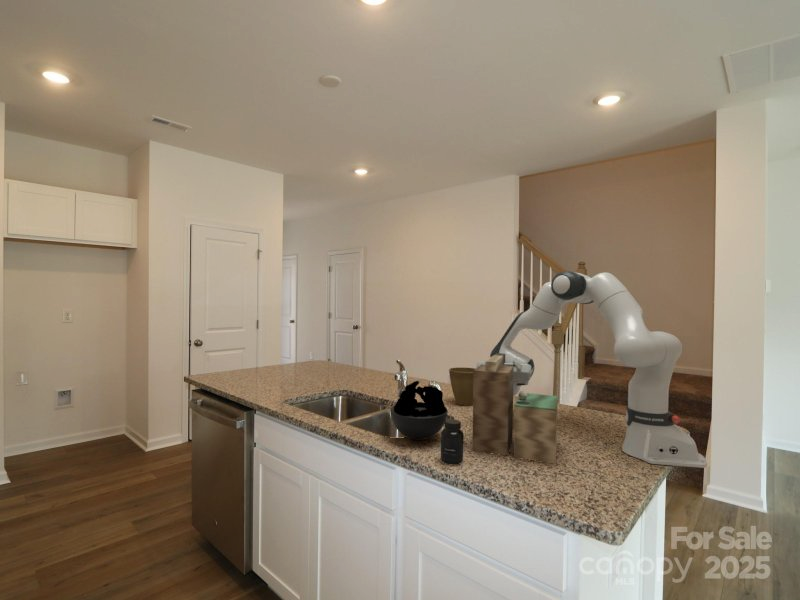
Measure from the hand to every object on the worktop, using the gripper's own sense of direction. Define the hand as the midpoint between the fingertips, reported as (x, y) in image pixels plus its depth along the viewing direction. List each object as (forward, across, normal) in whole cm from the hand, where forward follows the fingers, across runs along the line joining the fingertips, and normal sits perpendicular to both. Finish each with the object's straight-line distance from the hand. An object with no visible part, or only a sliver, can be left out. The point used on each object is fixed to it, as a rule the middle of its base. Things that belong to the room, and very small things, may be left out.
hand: (501, 362), depth 152 cm
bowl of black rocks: (+2, -26, +31) cm, 41 cm away
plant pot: (-44, -22, +5) cm, 49 cm away
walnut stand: (0, 0, +30) cm, 30 cm away
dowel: (+10, 0, +6) cm, 12 cm away
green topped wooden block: (-1, +13, +29) cm, 32 cm away
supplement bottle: (+15, -10, +39) cm, 43 cm away
